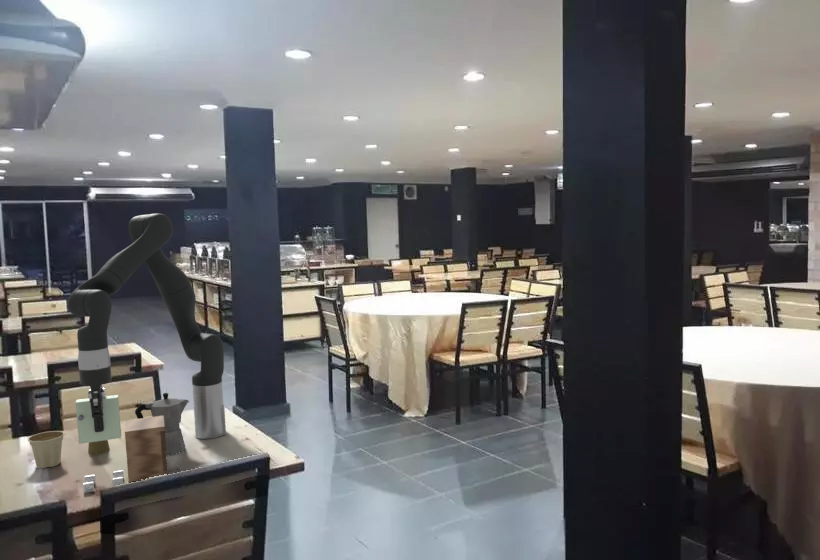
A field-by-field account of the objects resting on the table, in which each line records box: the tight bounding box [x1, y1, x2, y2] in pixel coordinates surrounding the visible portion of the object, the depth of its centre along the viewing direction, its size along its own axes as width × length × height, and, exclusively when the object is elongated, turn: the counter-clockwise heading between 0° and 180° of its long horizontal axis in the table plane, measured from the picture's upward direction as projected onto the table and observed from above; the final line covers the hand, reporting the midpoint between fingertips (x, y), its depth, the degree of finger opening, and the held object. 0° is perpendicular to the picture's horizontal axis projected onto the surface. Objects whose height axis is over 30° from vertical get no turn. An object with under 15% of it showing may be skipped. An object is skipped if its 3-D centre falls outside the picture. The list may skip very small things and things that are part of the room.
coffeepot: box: [134, 392, 190, 456], centre depth 201 cm, size 15×9×18 cm, turn 116°
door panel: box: [75, 394, 122, 445], centre depth 175 cm, size 10×4×11 cm, turn 112°
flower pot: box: [27, 430, 65, 469], centre depth 193 cm, size 9×9×9 cm
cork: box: [87, 440, 110, 455], centre depth 204 cm, size 6×6×11 cm
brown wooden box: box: [124, 415, 169, 483], centre depth 185 cm, size 10×11×14 cm
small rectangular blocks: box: [82, 469, 125, 494], centre depth 177 cm, size 9×6×2 cm, turn 112°
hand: (99, 429), depth 176 cm, fingers closed on door panel, 3 cm apart
